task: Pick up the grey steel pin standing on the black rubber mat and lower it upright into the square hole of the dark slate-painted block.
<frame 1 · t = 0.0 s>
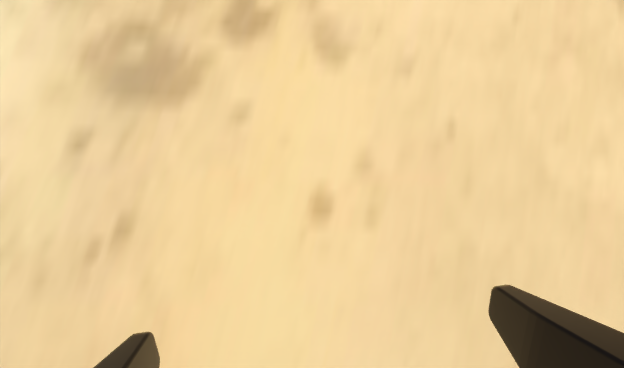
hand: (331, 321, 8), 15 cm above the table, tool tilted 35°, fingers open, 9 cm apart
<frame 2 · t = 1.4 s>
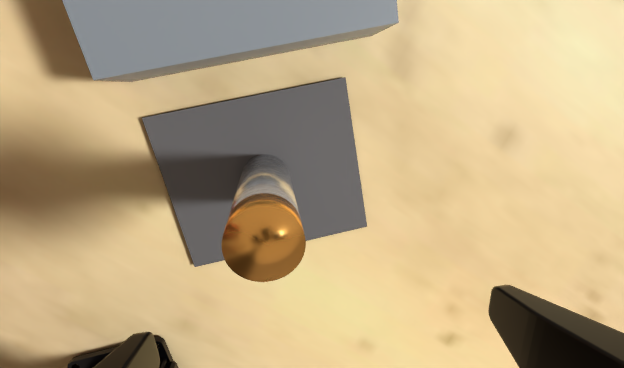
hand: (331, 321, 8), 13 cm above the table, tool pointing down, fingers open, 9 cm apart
pin: (265, 177, 20), resting on mat
mat: (265, 176, 20), on the table
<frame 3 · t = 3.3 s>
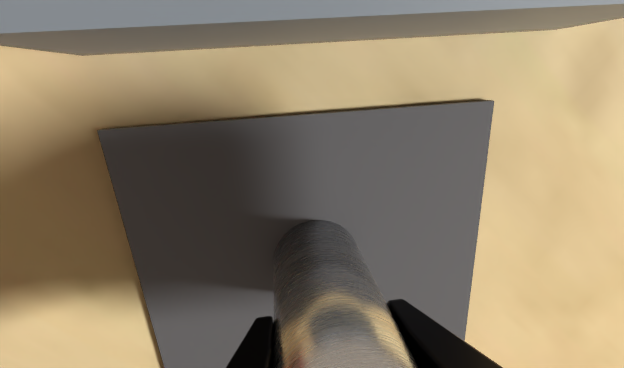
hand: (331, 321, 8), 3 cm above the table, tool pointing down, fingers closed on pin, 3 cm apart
pin: (316, 258, 11), resting on mat, touching gripper
mat: (315, 254, 11), on the table
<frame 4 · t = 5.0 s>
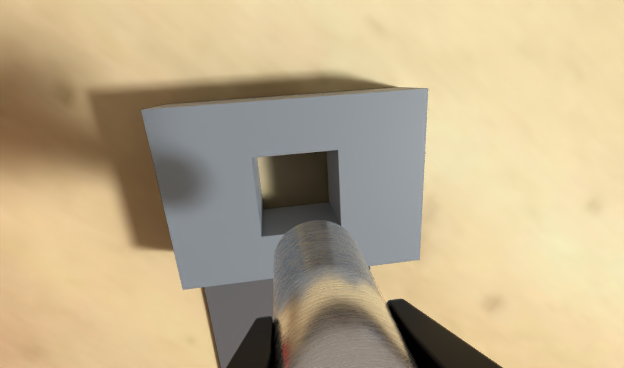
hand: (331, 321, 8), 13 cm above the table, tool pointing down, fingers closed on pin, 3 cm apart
pin: (316, 259, 11), point 10 cm above the table, touching gripper
hole block: (293, 174, 21), on the table
mat: (293, 323, 24), on the table
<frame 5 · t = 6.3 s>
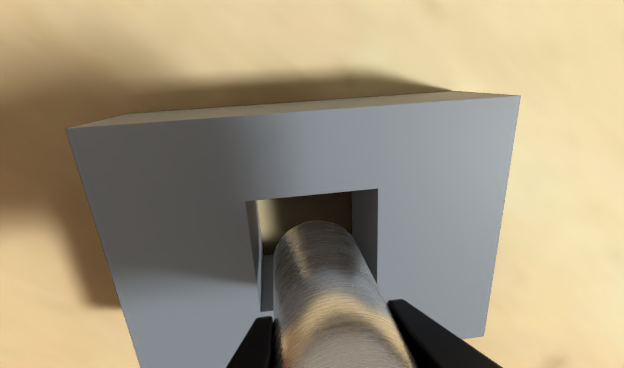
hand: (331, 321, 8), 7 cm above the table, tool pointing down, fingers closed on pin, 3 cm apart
pin: (316, 258, 11), point 4 cm above the table, touching gripper
hole block: (305, 209, 15), on the table
when the fingers open (5 cm above the table, at t = 7.1 s): pin drops 2 cm, resting in hole block.
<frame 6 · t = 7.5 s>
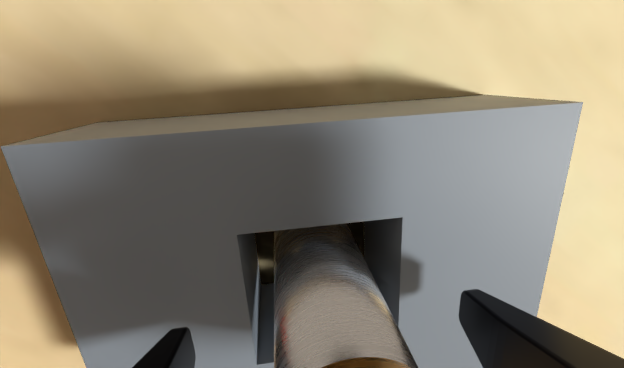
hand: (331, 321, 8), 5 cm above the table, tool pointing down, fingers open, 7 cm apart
pin: (310, 232, 13), resting in hole block
hole block: (310, 232, 13), on the table
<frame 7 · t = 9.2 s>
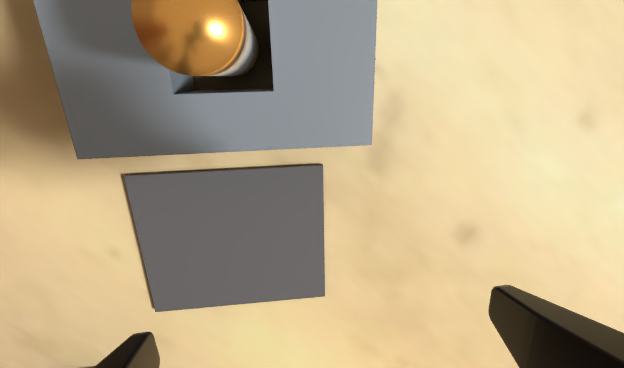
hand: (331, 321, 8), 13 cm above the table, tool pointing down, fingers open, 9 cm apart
pin: (231, 47, 17), resting in hole block
hole block: (230, 46, 17), on the table
mat: (235, 240, 21), on the table
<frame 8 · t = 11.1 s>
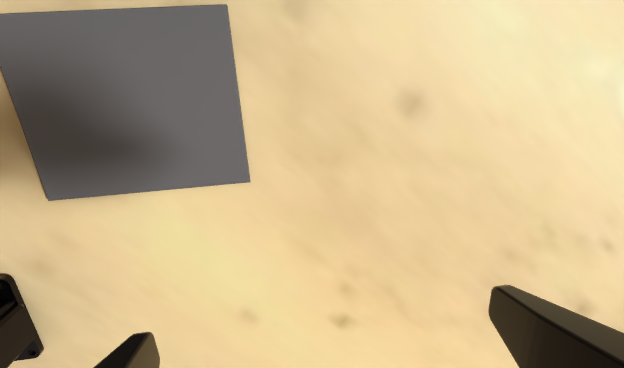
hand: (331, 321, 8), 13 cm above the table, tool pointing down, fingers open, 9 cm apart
mat: (134, 108, 18), on the table
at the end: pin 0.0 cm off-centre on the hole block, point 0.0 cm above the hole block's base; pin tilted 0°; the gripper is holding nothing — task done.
